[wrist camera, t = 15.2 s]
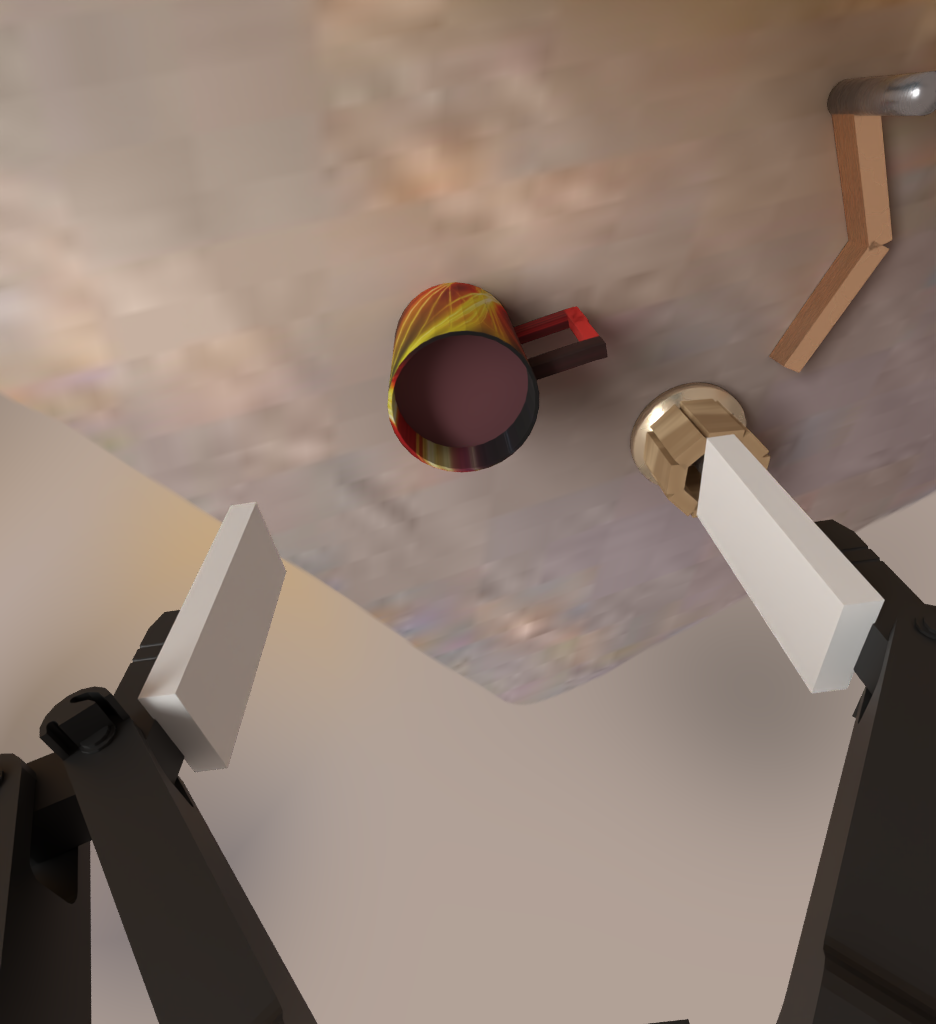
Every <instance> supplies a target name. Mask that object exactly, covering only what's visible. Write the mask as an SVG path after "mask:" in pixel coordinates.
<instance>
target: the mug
mask: <svg viewBox="0 0 936 1024" xmlns="http://www.w3.org/2000/svg"><path fill="white" fill-rule="evenodd" d="M567 328H570V329H571V330H572V332H573V333H574V335H575V336H576V337H577V339H578V340H579V342H577V343H574V344H571V345H568V346H565V347H562V348H559V349H556V350H553V351H550V352H547V353H544V354H542V355H539V356H536V357H533V358H530V359H527V357H526V355H525V353H524V350H523V348H522V346H521V344H523V343H526V342H529V341H532V340H535V339H538V338H541V337H544V336H547V335H550V334H553V333H555V332H558V331H561V330H564V329H567ZM606 357H607V350H606V343H605V342H604V341H603V339H602V338H601V337H600V336H599V335H598V333H597V332H596V331H595V330H594V329H593V327H592V326H591V325H590V324H589V321H588V319H587V318H586V317H585V316H584V314H583V313H582V312H581V311H580V309H579V308H578V307H577V306H576V307H572V308H568V309H565V310H562V311H559V312H556V313H554V314H551V315H548V316H545V317H542V318H539V319H536V320H533V321H531V322H528V323H525V324H522V325H519V326H516V327H513V326H512V323H511V321H510V319H509V316H508V314H507V312H506V311H505V309H504V308H503V306H502V305H501V304H500V302H499V301H498V300H496V299H495V298H494V297H493V296H492V295H491V294H490V293H488V292H486V291H485V290H483V289H481V288H479V287H476V286H473V285H470V284H465V283H457V282H455V283H444V284H440V285H437V286H434V287H431V288H429V289H427V290H425V291H424V292H422V293H420V294H419V295H418V296H417V297H416V298H414V299H413V300H412V301H411V302H410V304H409V305H408V306H407V307H406V309H405V310H404V312H403V314H402V316H401V318H400V320H399V322H398V326H397V329H396V333H395V342H394V350H393V358H392V367H391V375H390V383H389V392H388V412H389V419H390V422H391V425H392V427H393V430H394V433H395V434H396V436H397V437H398V439H399V441H400V442H401V444H402V445H403V446H404V447H405V448H406V449H407V450H408V451H409V452H410V453H411V454H412V455H413V456H415V457H416V458H418V459H419V460H420V461H422V462H424V463H426V464H428V465H430V466H432V467H434V468H438V469H442V470H446V471H453V472H470V471H478V470H481V469H485V468H489V467H491V466H493V465H496V464H498V463H500V462H502V461H503V460H505V459H506V458H508V457H509V456H511V455H512V454H513V453H514V452H515V451H516V450H518V449H519V448H520V447H521V446H522V445H523V443H524V442H525V440H526V439H527V437H528V436H529V435H530V433H531V431H532V429H533V426H534V424H535V422H536V419H537V414H538V410H539V390H538V385H537V380H538V379H541V378H544V377H547V376H550V375H553V374H556V373H559V372H562V371H565V370H568V369H571V368H574V367H577V366H580V365H583V364H586V363H589V362H592V361H595V360H599V359H602V358H606Z"/></svg>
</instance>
